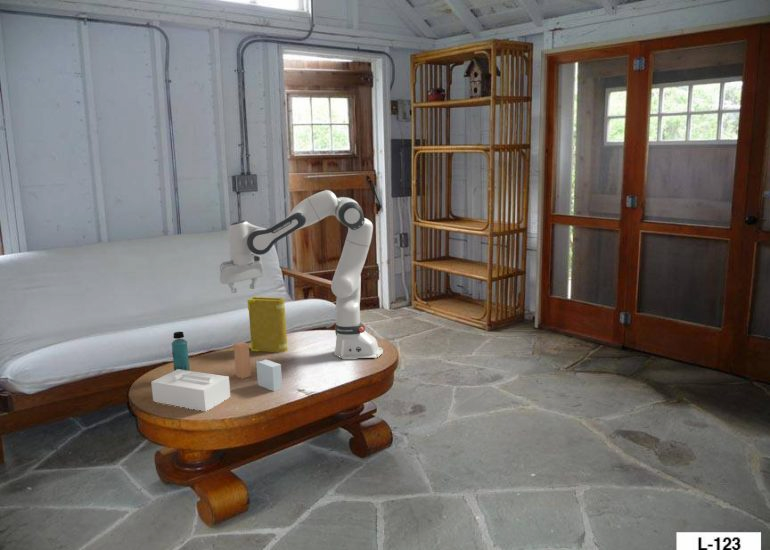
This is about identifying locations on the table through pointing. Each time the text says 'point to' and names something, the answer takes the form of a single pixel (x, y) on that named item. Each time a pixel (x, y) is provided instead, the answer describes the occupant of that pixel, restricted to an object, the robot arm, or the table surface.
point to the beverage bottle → (180, 352)
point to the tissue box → (191, 389)
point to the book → (267, 324)
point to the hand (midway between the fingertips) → (243, 290)
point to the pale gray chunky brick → (269, 374)
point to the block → (242, 359)
